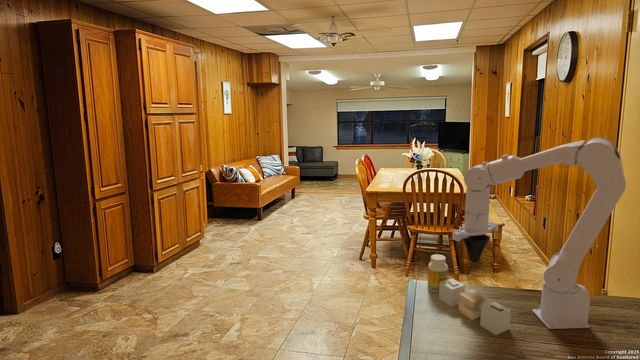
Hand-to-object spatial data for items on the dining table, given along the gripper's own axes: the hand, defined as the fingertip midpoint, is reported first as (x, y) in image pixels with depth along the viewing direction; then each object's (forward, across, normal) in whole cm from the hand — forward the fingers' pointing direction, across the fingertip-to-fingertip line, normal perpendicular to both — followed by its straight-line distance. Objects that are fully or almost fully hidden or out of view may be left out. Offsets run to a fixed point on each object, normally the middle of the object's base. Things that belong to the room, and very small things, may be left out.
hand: (474, 260), depth 108 cm
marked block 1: (+10, +6, +13) cm, 18 cm away
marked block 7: (+10, +6, -1) cm, 12 cm away
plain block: (+10, +6, +6) cm, 14 cm away
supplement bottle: (+11, +5, -8) cm, 14 cm away
